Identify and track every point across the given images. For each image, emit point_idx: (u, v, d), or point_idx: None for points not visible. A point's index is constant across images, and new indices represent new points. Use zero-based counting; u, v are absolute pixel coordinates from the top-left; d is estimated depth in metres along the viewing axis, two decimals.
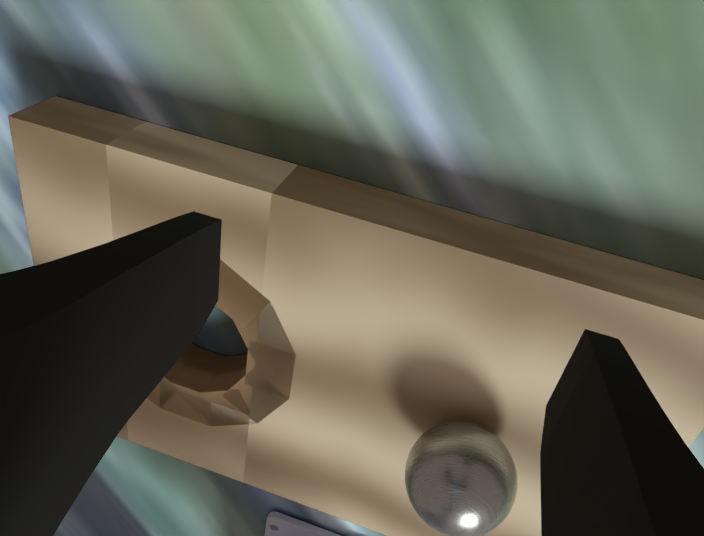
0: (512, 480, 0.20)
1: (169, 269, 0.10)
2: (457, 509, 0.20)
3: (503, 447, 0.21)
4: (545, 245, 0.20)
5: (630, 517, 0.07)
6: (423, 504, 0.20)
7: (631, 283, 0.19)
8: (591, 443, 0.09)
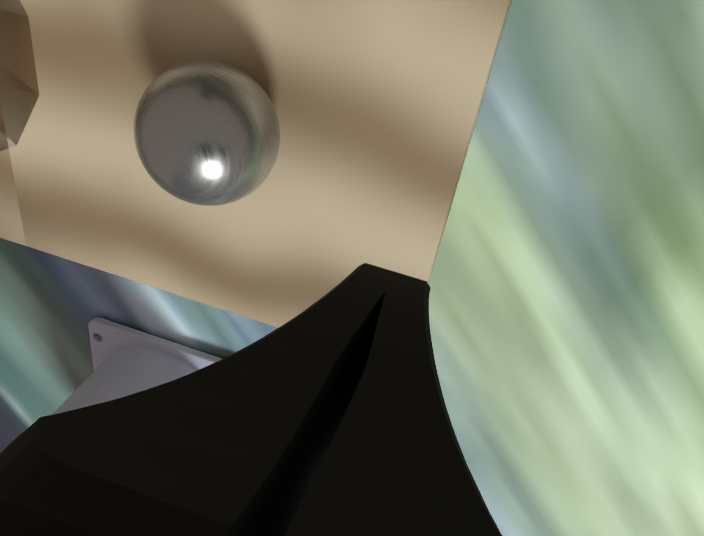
0: (256, 111, 0.16)
1: (365, 331, 0.10)
2: (173, 133, 0.15)
3: (254, 82, 0.16)
4: None
5: None
6: (141, 142, 0.16)
7: None
8: None
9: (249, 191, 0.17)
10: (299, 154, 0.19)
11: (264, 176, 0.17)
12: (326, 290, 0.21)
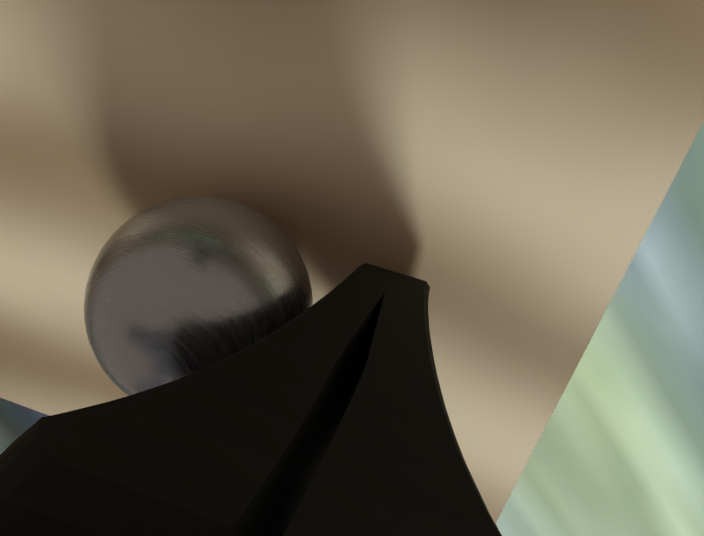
0: (279, 289, 0.10)
1: (366, 332, 0.10)
2: (143, 338, 0.09)
3: (275, 234, 0.10)
4: None
5: None
6: (92, 340, 0.10)
7: None
8: None
9: None
10: None
11: None
12: None
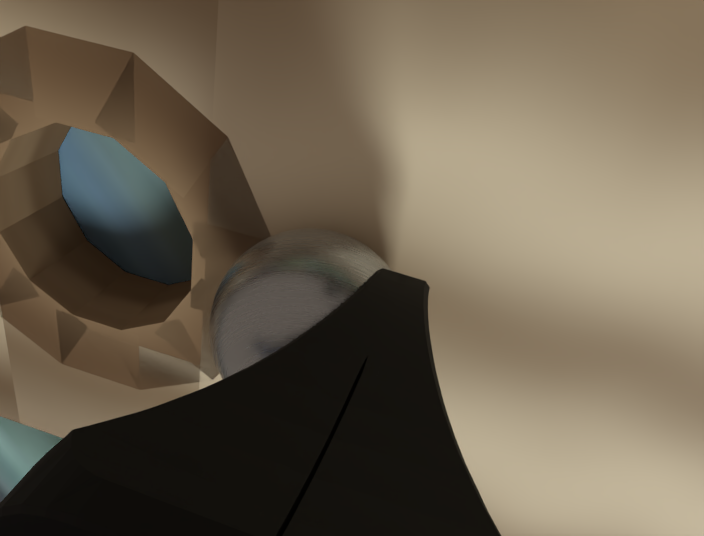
0: (257, 250, 0.11)
1: None
2: None
3: (280, 280, 0.10)
4: None
5: None
6: None
7: None
8: None
9: None
10: (650, 433, 0.14)
11: None
12: None
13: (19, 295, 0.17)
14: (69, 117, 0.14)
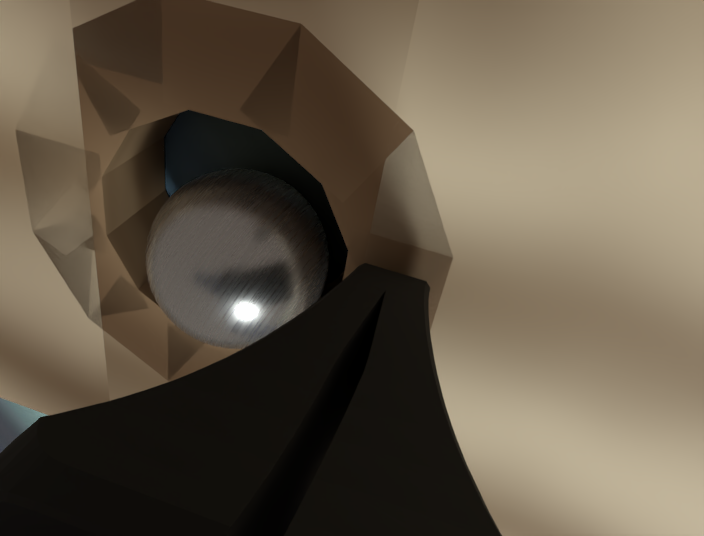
0: (304, 199, 0.13)
1: (366, 331, 0.10)
2: (312, 300, 0.13)
3: (260, 179, 0.13)
4: None
5: None
6: None
7: None
8: None
9: None
10: None
11: None
12: None
13: (124, 306, 0.15)
14: (207, 103, 0.11)
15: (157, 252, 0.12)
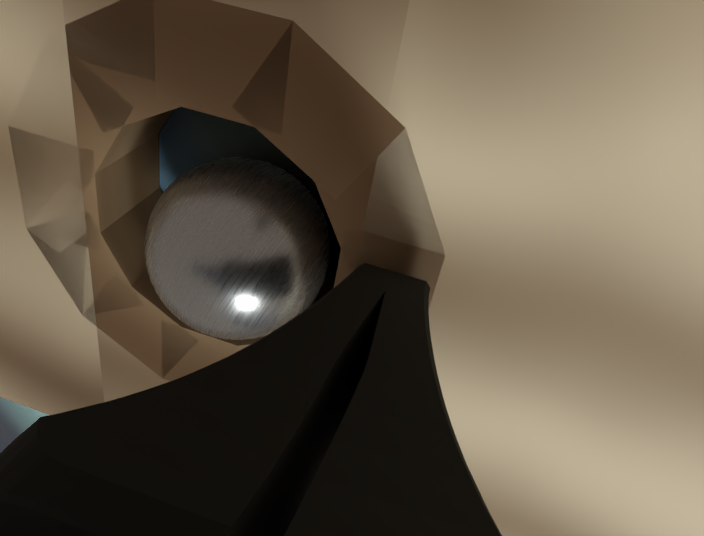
0: (305, 187, 0.13)
1: (366, 331, 0.10)
2: (317, 285, 0.13)
3: (264, 164, 0.13)
4: None
5: None
6: (275, 327, 0.13)
7: None
8: None
9: None
10: None
11: None
12: None
13: (118, 303, 0.15)
14: (199, 100, 0.11)
15: (161, 234, 0.12)
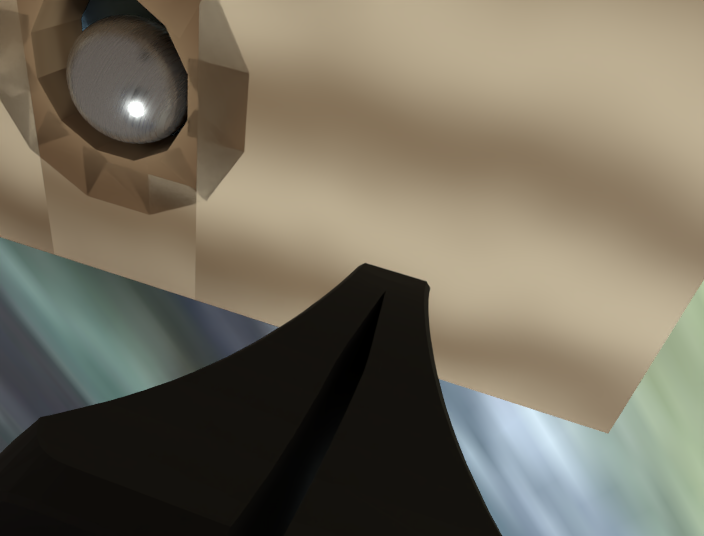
0: None
1: (366, 331, 0.10)
2: (185, 98, 0.19)
3: (149, 19, 0.19)
4: None
5: None
6: (156, 124, 0.19)
7: None
8: None
9: None
10: (537, 220, 0.18)
11: None
12: (537, 355, 0.20)
13: (53, 135, 0.21)
14: None
15: (77, 52, 0.18)
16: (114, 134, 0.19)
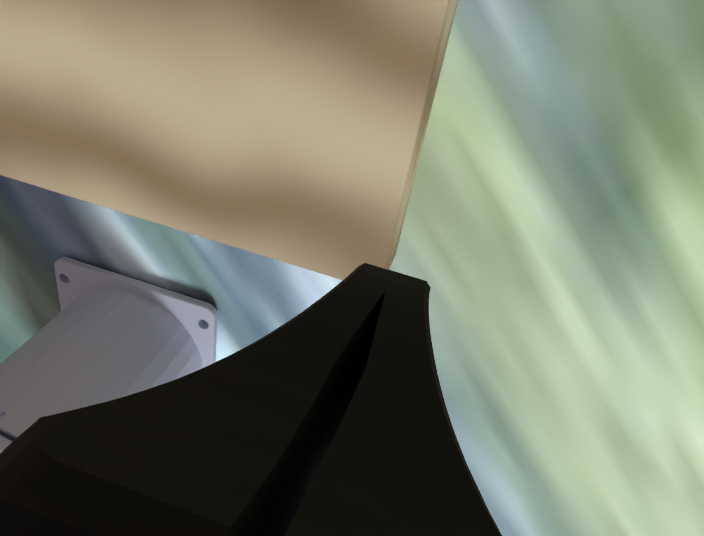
0: None
1: (365, 331, 0.10)
2: None
3: None
4: None
5: None
6: None
7: None
8: None
9: None
10: (262, 45, 0.17)
11: None
12: (296, 205, 0.20)
13: None
14: None
15: None
16: None
